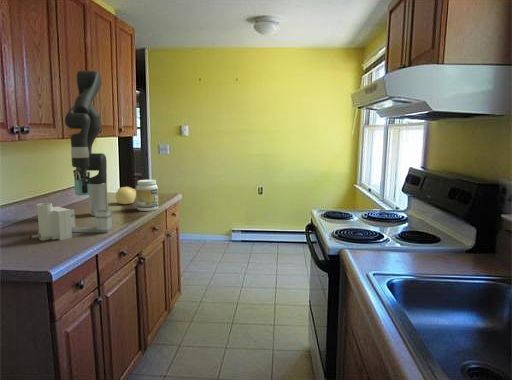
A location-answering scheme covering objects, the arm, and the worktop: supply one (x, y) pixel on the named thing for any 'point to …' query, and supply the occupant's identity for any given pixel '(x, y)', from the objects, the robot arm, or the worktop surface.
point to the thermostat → (53, 222)
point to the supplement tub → (147, 195)
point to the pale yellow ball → (125, 195)
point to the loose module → (79, 187)
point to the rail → (91, 229)
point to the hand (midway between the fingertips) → (82, 192)
